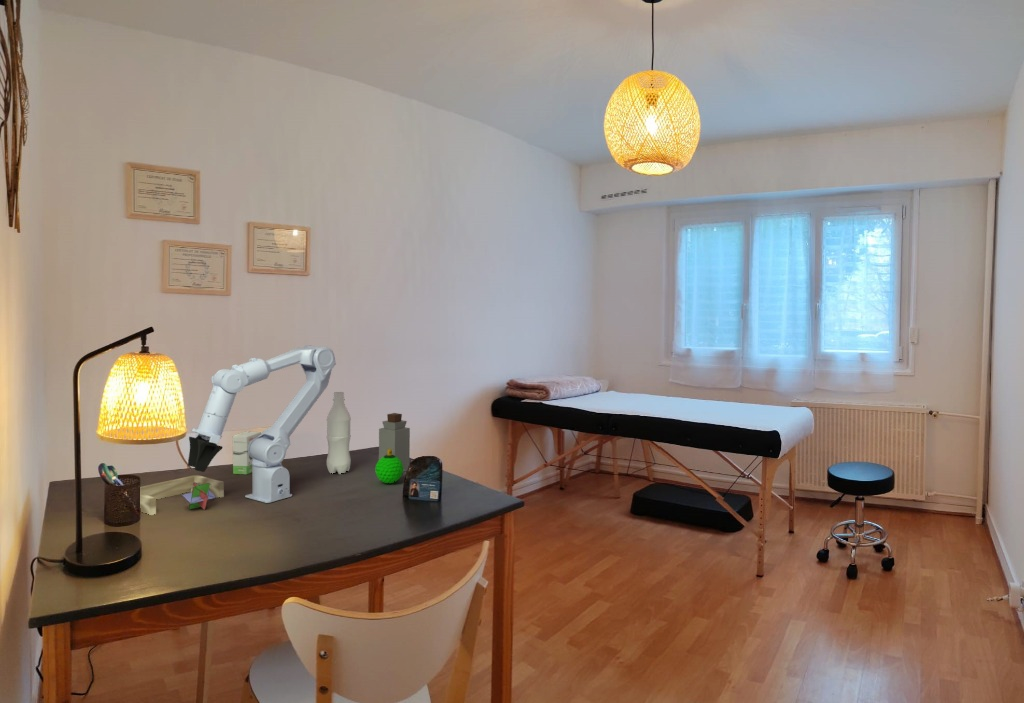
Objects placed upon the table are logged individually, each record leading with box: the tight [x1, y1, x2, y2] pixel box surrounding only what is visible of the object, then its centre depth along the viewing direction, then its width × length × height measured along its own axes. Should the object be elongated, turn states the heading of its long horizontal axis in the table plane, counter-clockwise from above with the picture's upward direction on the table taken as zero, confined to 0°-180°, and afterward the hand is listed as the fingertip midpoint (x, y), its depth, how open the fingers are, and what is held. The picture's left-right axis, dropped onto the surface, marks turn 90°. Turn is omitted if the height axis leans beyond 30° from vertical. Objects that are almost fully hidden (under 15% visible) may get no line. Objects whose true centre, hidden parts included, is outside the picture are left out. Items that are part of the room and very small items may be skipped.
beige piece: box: [139, 474, 225, 516], centre depth 163 cm, size 13×19×4 cm, turn 148°
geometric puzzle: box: [181, 482, 218, 511], centre depth 157 cm, size 7×7×8 cm
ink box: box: [232, 430, 262, 475], centre depth 195 cm, size 9×5×12 cm, turn 173°
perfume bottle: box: [378, 412, 411, 470], centre depth 199 cm, size 7×7×18 cm
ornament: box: [374, 449, 404, 484], centre depth 184 cm, size 8×8×10 cm
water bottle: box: [326, 391, 352, 475], centre depth 195 cm, size 7×7×25 cm
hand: (195, 468), depth 154 cm, fingers open, 7 cm apart
